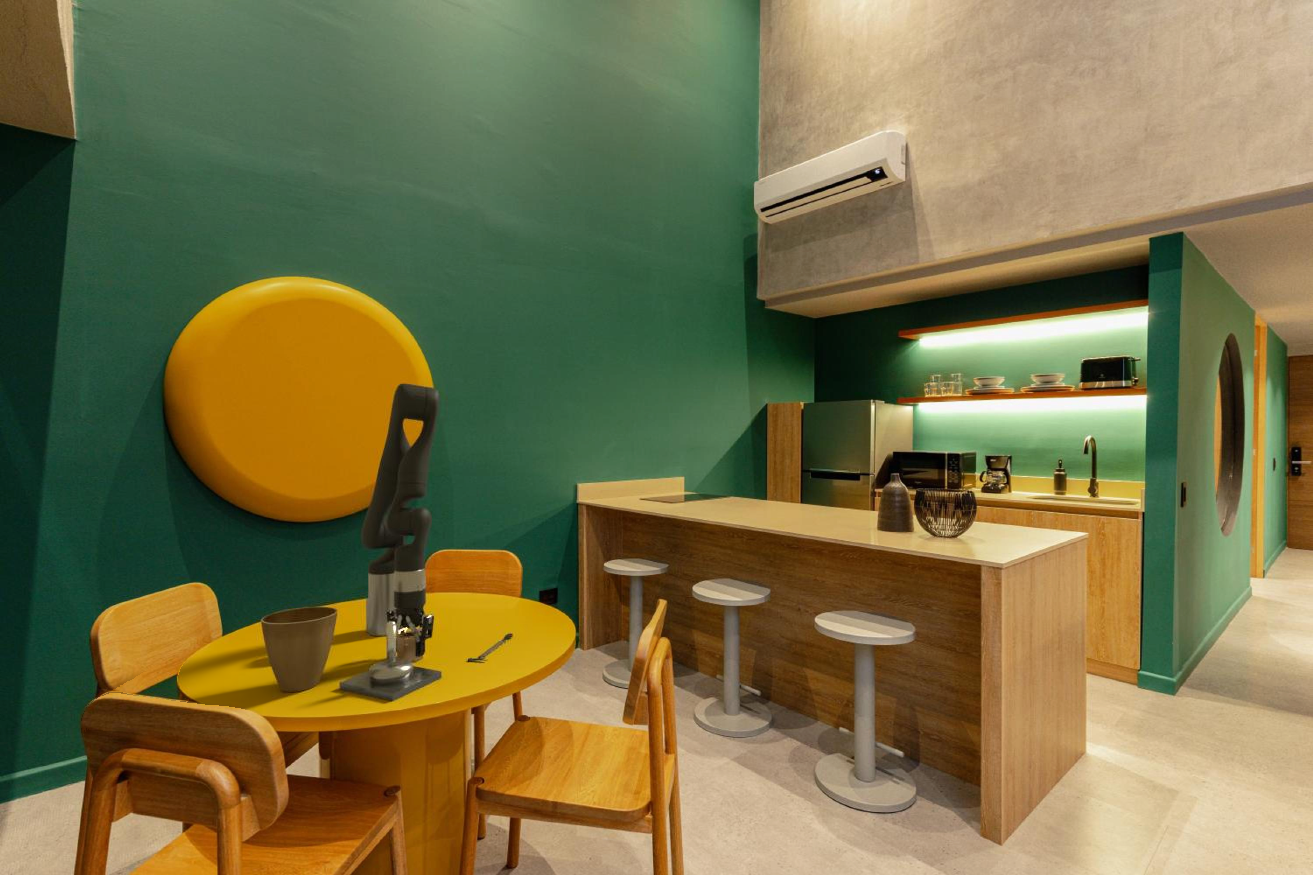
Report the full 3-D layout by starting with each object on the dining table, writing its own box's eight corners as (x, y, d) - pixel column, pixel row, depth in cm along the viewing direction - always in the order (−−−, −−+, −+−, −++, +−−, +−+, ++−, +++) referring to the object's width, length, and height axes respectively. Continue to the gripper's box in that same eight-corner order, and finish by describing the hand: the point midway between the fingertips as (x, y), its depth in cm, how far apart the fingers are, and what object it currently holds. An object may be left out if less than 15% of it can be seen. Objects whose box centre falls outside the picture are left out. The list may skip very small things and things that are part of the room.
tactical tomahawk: (490, 668, 151) (490, 663, 151) (466, 663, 153) (466, 659, 153) (528, 639, 172) (528, 635, 172) (506, 636, 173) (507, 632, 173)
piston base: (339, 689, 137) (339, 625, 137) (390, 667, 149) (390, 609, 149) (392, 701, 130) (392, 634, 130) (441, 677, 143) (441, 616, 143)
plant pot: (341, 688, 137) (341, 616, 137) (261, 705, 129) (261, 627, 129) (334, 668, 149) (333, 602, 149) (260, 682, 141) (260, 611, 141)
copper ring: (391, 660, 155) (391, 636, 155) (410, 652, 160) (410, 629, 160) (409, 663, 152) (409, 639, 152) (428, 655, 158) (428, 632, 158)
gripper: (376, 587, 156) (377, 654, 156) (419, 593, 150) (420, 662, 150) (400, 581, 163) (401, 645, 162) (442, 586, 157) (443, 653, 156)
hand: (410, 653), depth 156 cm, fingers closed on copper ring, 6 cm apart
